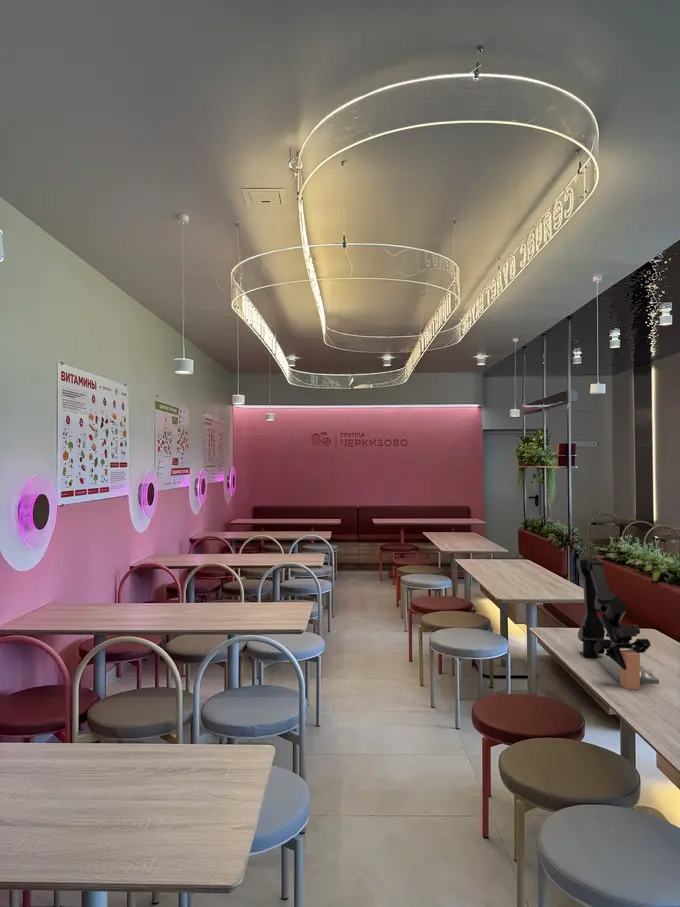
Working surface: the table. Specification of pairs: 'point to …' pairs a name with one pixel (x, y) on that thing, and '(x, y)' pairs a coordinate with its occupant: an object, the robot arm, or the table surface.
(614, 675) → the base plate
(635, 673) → the terracotta block
